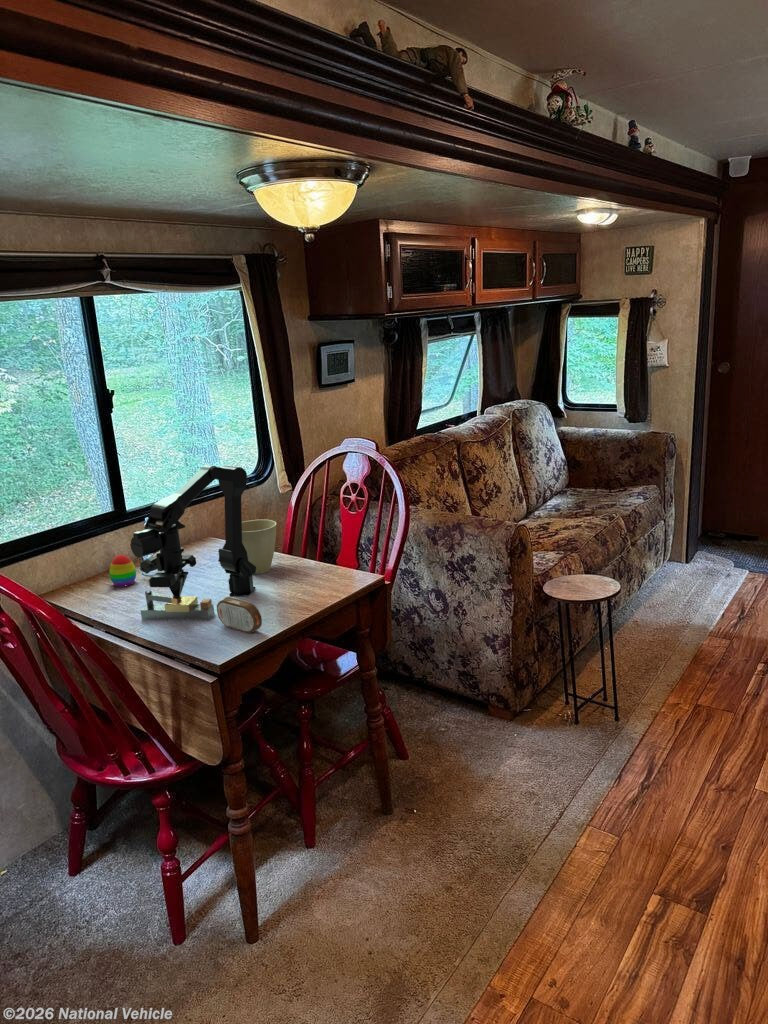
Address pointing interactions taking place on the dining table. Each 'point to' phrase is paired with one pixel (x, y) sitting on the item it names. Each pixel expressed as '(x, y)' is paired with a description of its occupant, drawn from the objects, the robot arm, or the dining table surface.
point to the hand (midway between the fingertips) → (177, 599)
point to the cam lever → (160, 598)
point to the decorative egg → (122, 571)
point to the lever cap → (182, 604)
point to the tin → (239, 615)
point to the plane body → (197, 613)
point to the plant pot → (259, 543)
